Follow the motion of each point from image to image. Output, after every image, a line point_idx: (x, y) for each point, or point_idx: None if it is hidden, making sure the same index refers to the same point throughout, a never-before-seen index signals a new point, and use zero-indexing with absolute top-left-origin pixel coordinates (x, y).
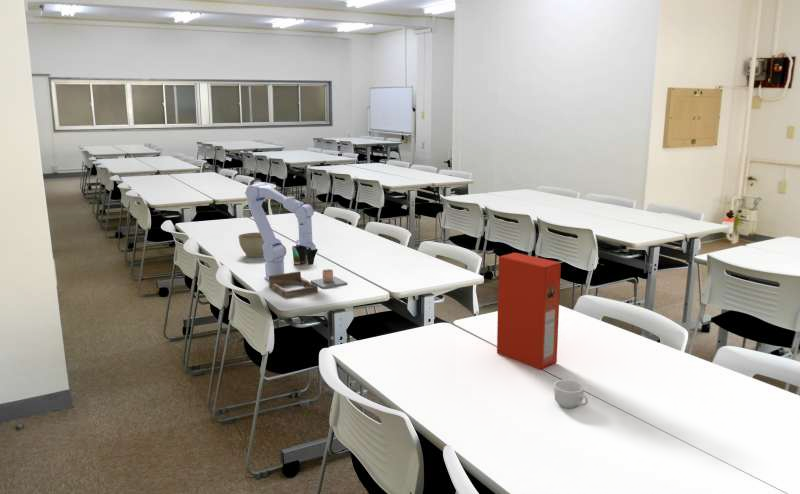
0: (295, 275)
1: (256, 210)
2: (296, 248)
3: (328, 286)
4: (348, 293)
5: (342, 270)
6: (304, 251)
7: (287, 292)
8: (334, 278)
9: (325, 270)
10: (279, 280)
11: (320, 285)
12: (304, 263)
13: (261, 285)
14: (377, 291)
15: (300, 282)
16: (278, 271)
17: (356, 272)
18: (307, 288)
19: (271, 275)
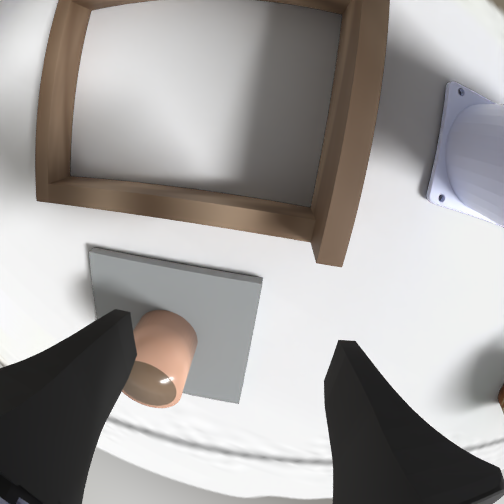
0: (323, 200)
1: None
2: (446, 478)
3: (94, 285)
4: (6, 284)
5: (318, 451)
6: (341, 483)
7: (61, 2)
8: (203, 384)
9: (153, 379)
10: (345, 48)
11: (119, 261)
12: (501, 392)
13: (431, 7)
14: (11, 355)
15: (273, 204)
16: (485, 144)
17: (252, 461)
18: (37, 130)
19: (493, 105)
